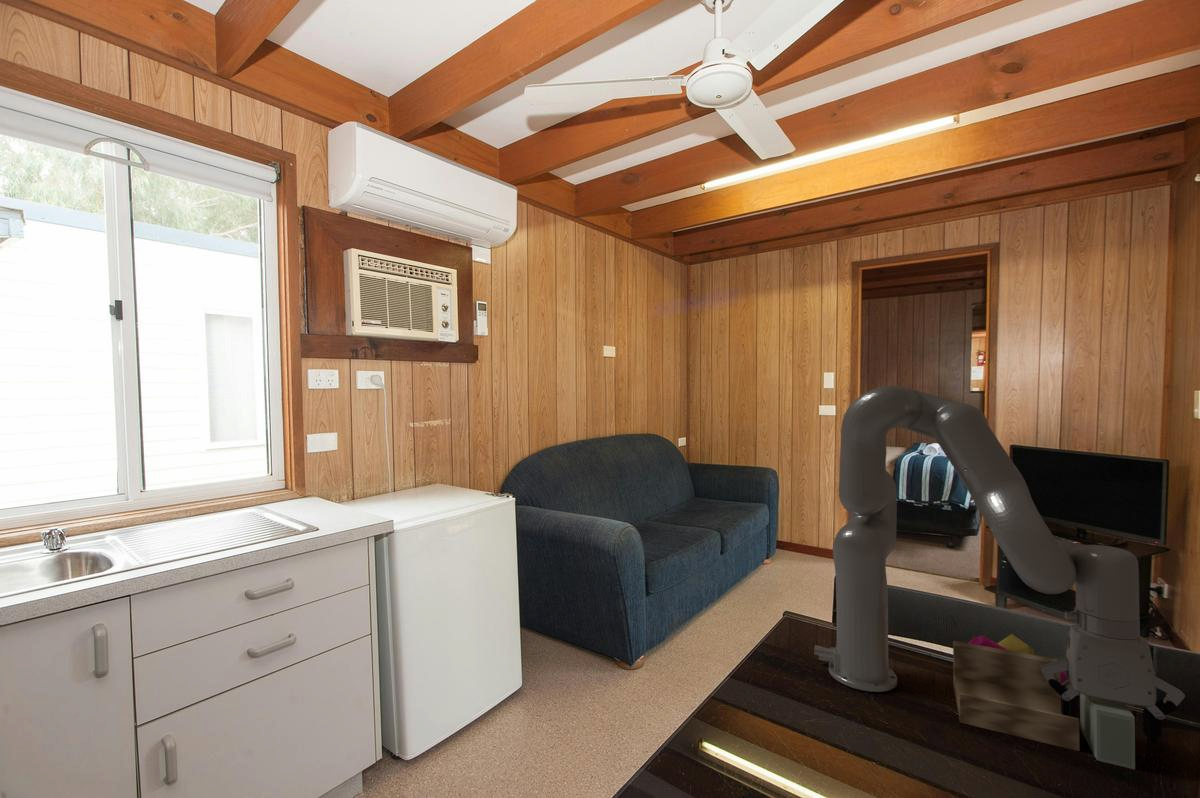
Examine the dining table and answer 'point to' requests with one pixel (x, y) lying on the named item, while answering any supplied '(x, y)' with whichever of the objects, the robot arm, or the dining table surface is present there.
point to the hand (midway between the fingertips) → (1109, 730)
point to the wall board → (1010, 695)
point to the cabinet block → (1108, 730)
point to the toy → (1010, 647)
